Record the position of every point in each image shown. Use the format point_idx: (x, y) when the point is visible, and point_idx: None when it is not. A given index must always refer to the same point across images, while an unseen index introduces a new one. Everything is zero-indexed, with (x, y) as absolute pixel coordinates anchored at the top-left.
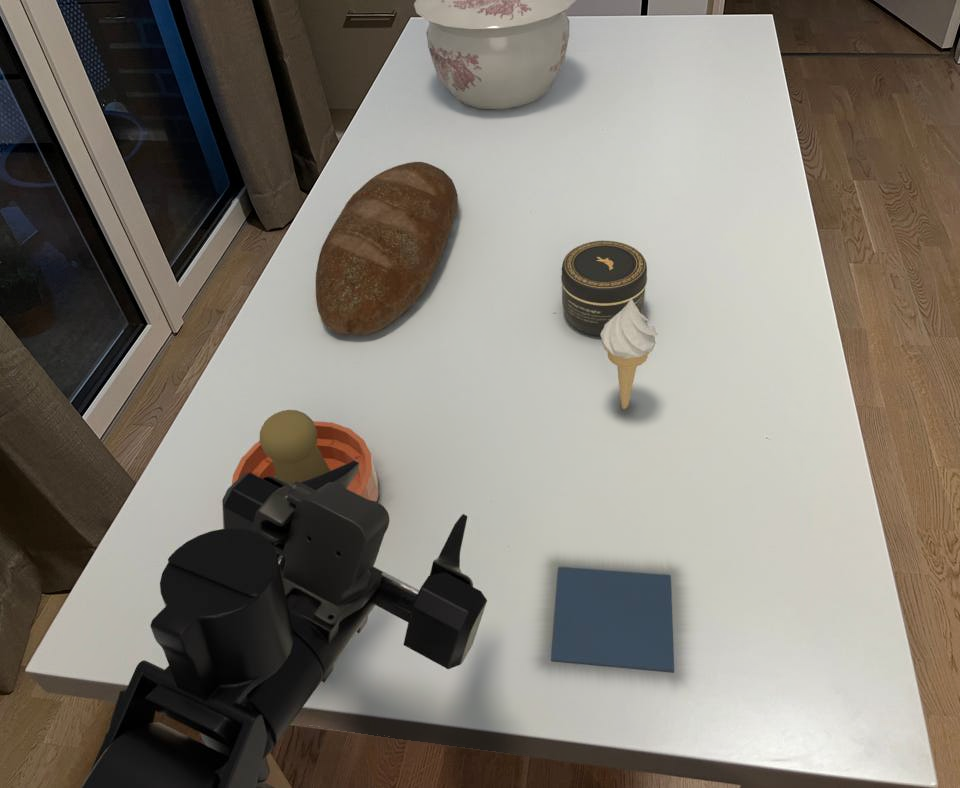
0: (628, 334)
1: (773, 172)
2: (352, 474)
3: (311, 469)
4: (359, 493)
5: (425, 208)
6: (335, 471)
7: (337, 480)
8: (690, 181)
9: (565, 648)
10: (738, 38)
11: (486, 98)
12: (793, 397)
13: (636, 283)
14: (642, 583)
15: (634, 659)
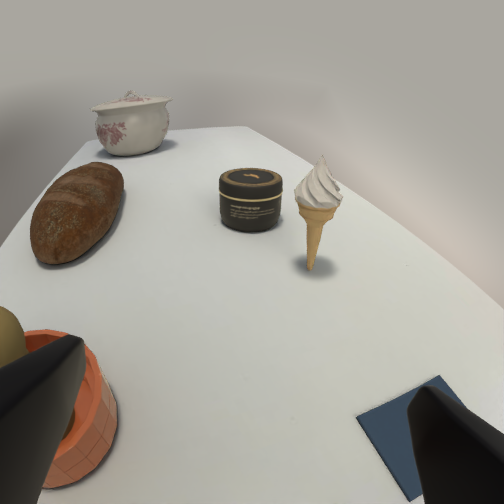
0: (326, 185)
1: (294, 160)
2: (71, 378)
3: None
4: (95, 407)
5: (105, 174)
6: (8, 372)
7: (19, 407)
8: (256, 165)
9: (415, 483)
10: (240, 130)
11: (128, 146)
12: (397, 242)
13: (280, 183)
14: None
15: None
